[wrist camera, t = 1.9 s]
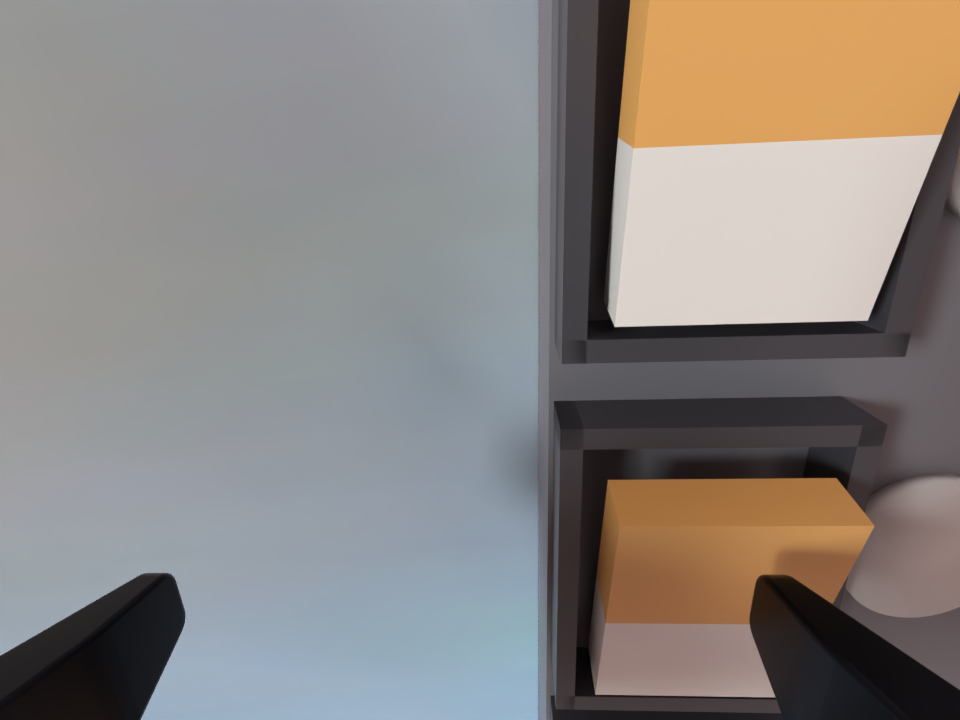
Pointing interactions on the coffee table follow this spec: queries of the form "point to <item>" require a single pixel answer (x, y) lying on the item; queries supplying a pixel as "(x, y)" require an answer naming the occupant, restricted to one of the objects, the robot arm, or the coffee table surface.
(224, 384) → the coffee table surface
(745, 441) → the power strip
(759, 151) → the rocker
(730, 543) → the rocker middle
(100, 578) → the coffee table surface
